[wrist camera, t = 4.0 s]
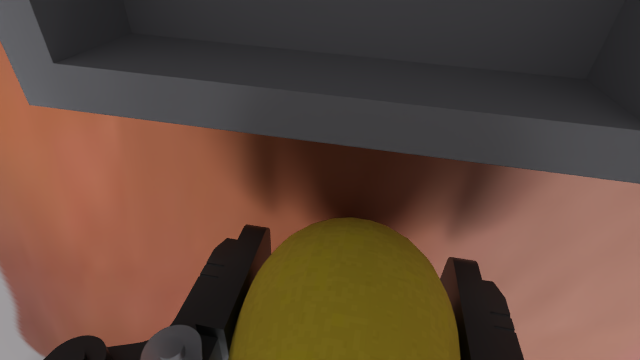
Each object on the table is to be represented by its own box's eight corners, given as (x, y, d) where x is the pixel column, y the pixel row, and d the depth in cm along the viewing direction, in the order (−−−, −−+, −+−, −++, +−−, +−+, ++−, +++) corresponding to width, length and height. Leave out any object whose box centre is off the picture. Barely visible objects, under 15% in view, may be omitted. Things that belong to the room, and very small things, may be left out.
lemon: (260, 172, 12) (91, 480, 5) (439, 158, 10) (521, 554, 4) (299, 285, 14) (224, 570, 8) (442, 286, 13) (490, 630, 7)
